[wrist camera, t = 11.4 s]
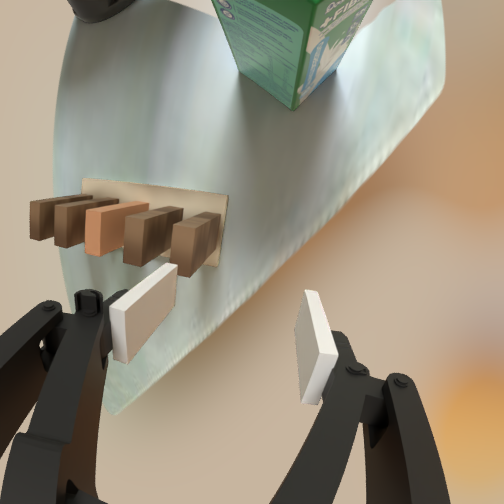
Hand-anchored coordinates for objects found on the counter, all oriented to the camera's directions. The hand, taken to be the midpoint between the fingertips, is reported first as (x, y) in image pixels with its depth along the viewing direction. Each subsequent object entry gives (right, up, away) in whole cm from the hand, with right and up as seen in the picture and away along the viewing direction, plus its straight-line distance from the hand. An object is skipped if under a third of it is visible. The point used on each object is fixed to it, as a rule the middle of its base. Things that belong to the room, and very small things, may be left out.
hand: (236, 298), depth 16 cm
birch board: (-14, +7, +19) cm, 25 cm away
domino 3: (-9, +6, +18) cm, 21 cm away
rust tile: (-14, +7, +18) cm, 24 cm away
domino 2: (-18, +8, +19) cm, 27 cm away
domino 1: (-23, +9, +19) cm, 31 cm away
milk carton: (+5, +26, +13) cm, 30 cm away
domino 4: (-4, +5, +18) cm, 19 cm away
